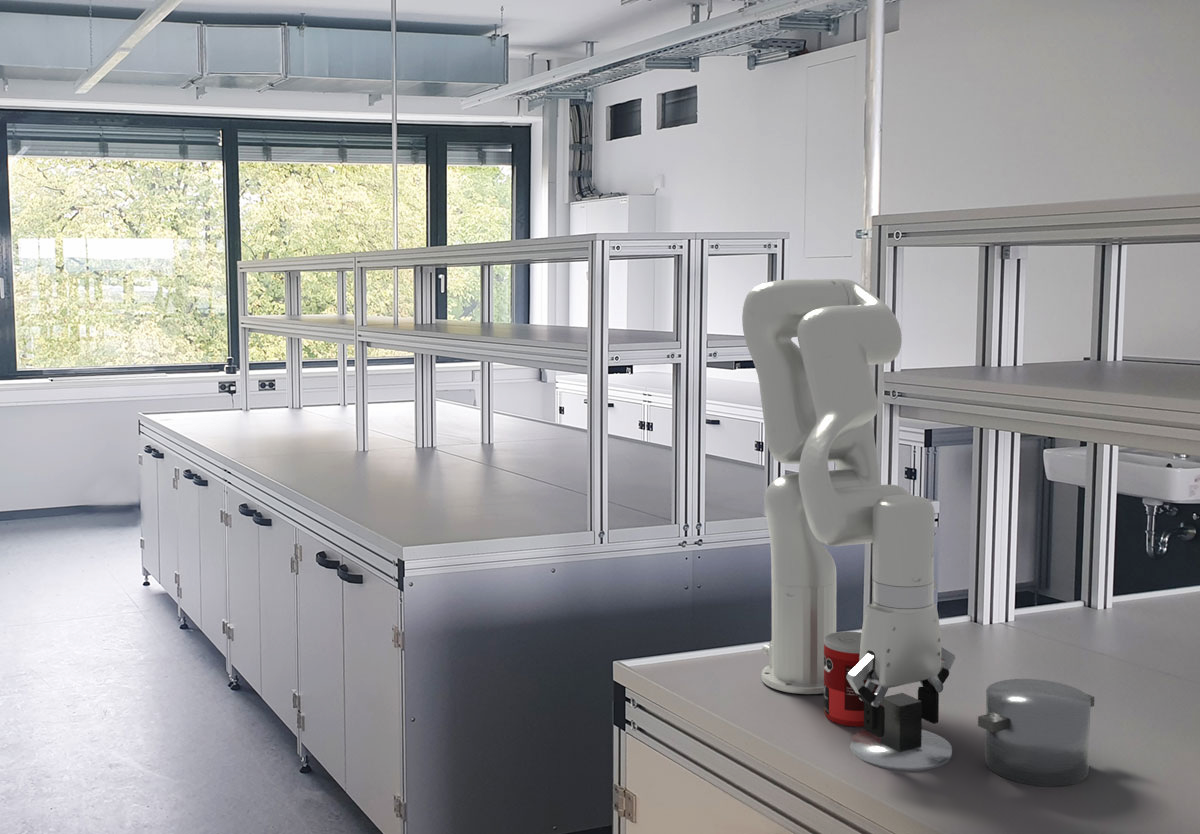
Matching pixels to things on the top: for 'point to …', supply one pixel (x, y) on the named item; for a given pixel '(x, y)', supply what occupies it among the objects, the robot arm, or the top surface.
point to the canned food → (842, 679)
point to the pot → (1037, 732)
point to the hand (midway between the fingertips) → (901, 726)
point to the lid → (902, 739)
